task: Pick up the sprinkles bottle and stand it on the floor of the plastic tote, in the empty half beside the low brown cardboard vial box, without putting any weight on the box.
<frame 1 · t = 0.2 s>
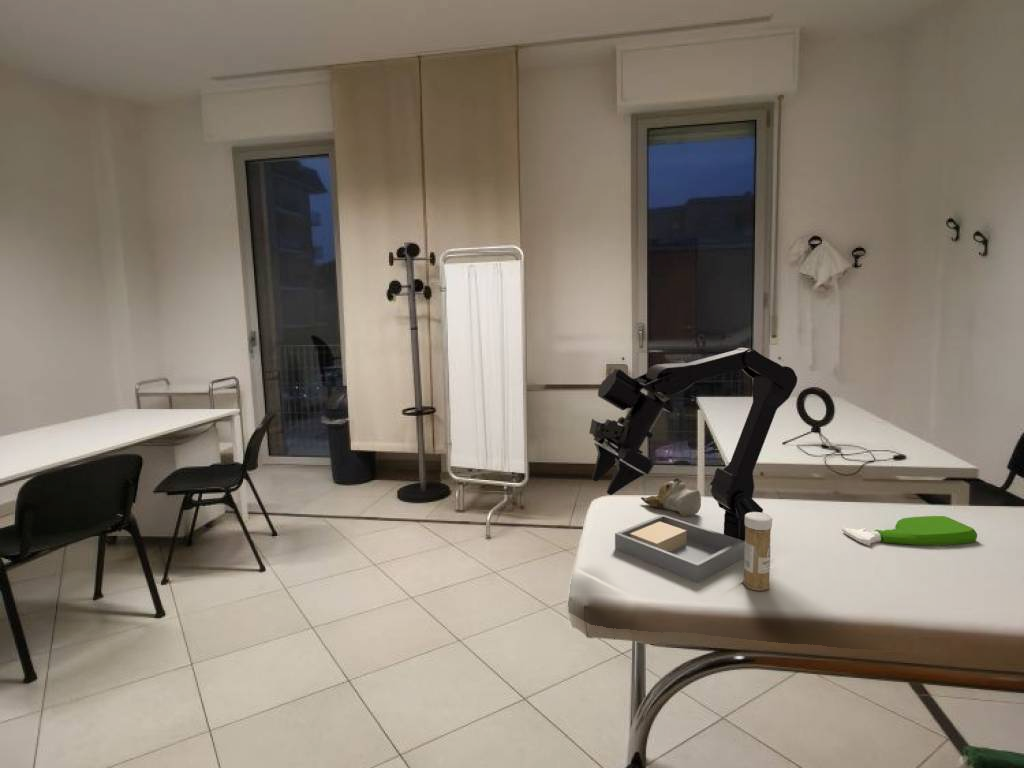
hand: (601, 487, 119), 15 cm above the table, fingers open, 9 cm apart
spray bottle: (906, 539, 126), on the table
ceramic sculpture: (675, 511, 145), on the table
sprinkles bottle: (756, 586, 106), on the table
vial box: (658, 545, 123), point 1 cm above the table, touching tote
tote: (678, 555, 120), on the table
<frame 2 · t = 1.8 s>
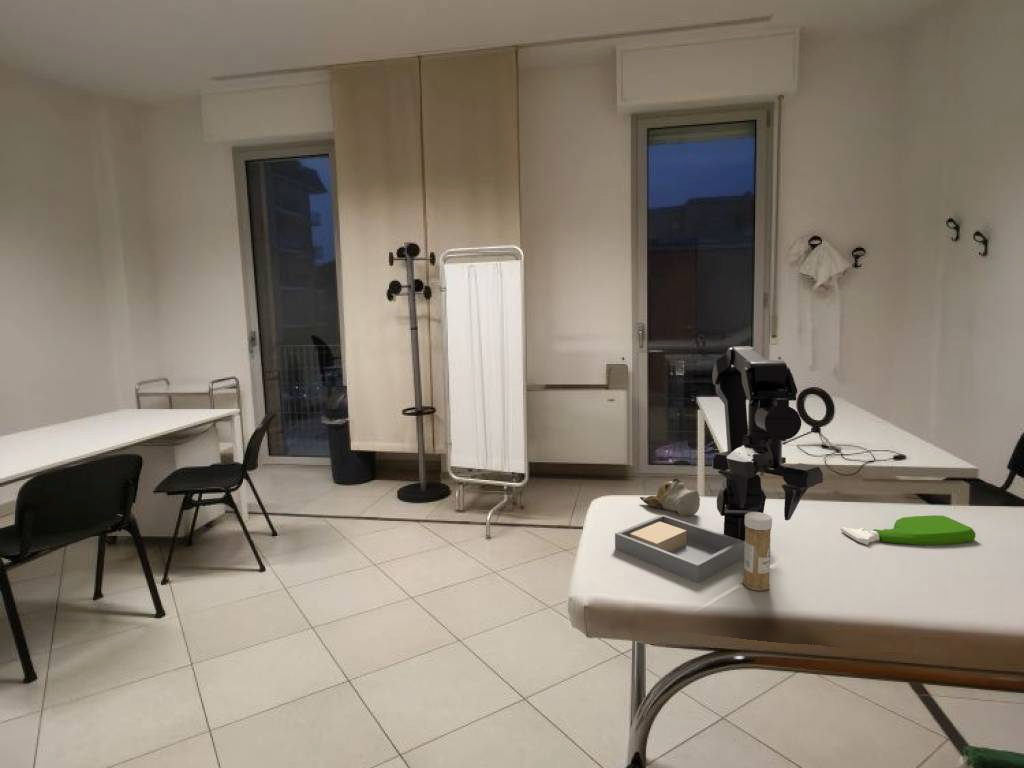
hand: (763, 513, 107), 13 cm above the table, fingers open, 9 cm apart
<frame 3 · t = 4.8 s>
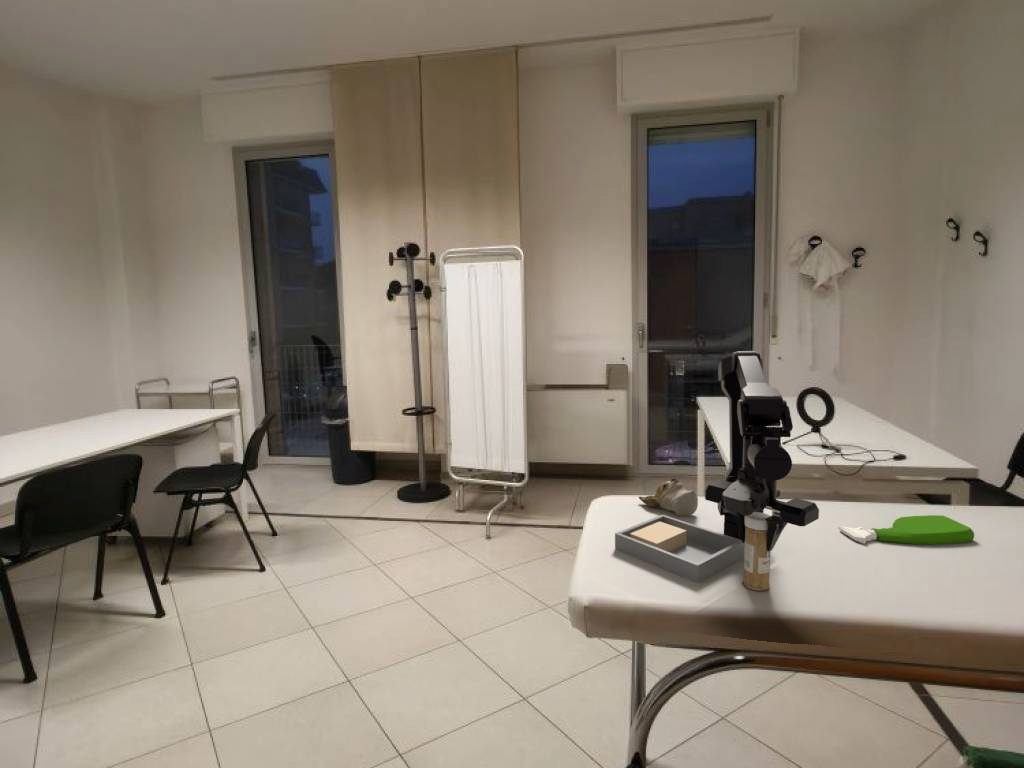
hand: (757, 546, 105), 8 cm above the table, fingers closed on sprinkles bottle, 4 cm apart
sprinkles bottle: (756, 586, 106), on the table, touching gripper
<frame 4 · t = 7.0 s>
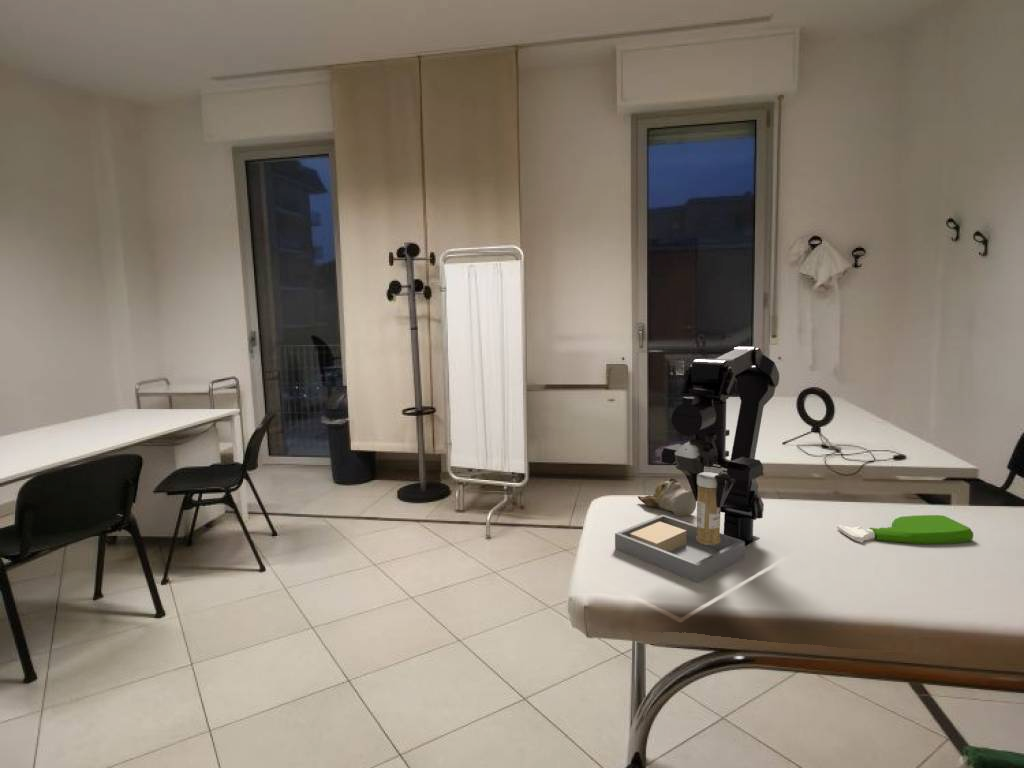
hand: (708, 504, 113), 13 cm above the table, fingers closed on sprinkles bottle, 4 cm apart
sprinkles bottle: (707, 542, 114), point 5 cm above the table, touching gripper
when the fingers open (9 cm above the table, at t = 9.2 s): sprinkles bottle drops 1 cm, resting on tote.
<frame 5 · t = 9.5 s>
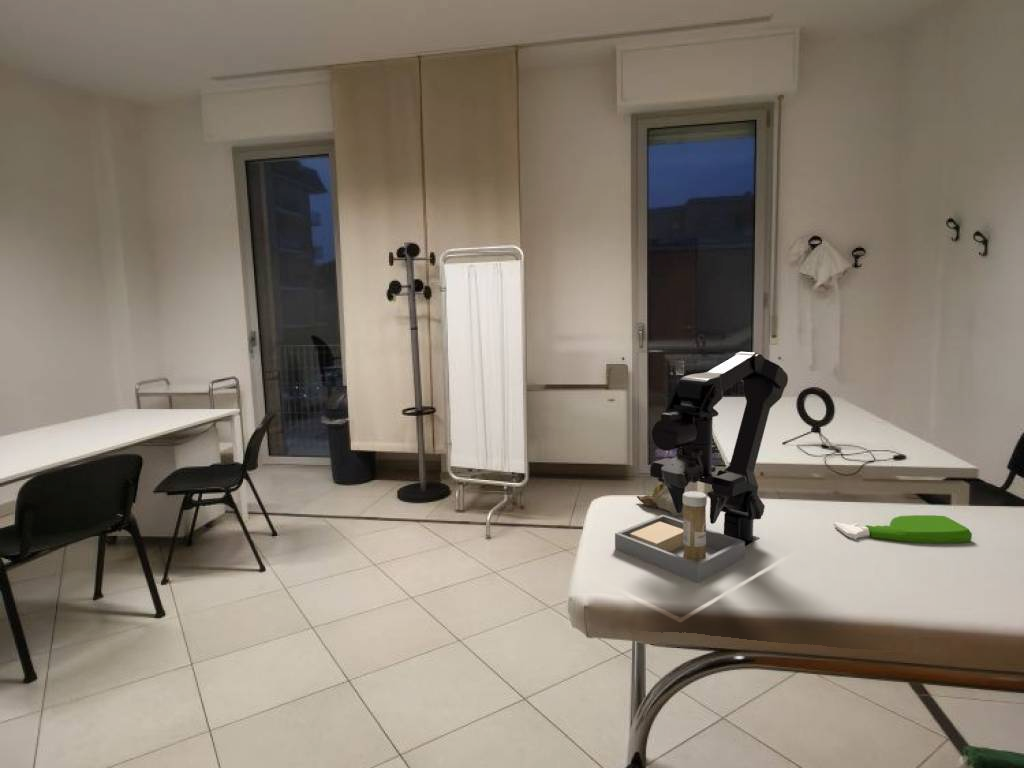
hand: (695, 517, 115), 9 cm above the table, fingers open, 7 cm apart
sprinkles bottle: (694, 559, 117), resting on tote
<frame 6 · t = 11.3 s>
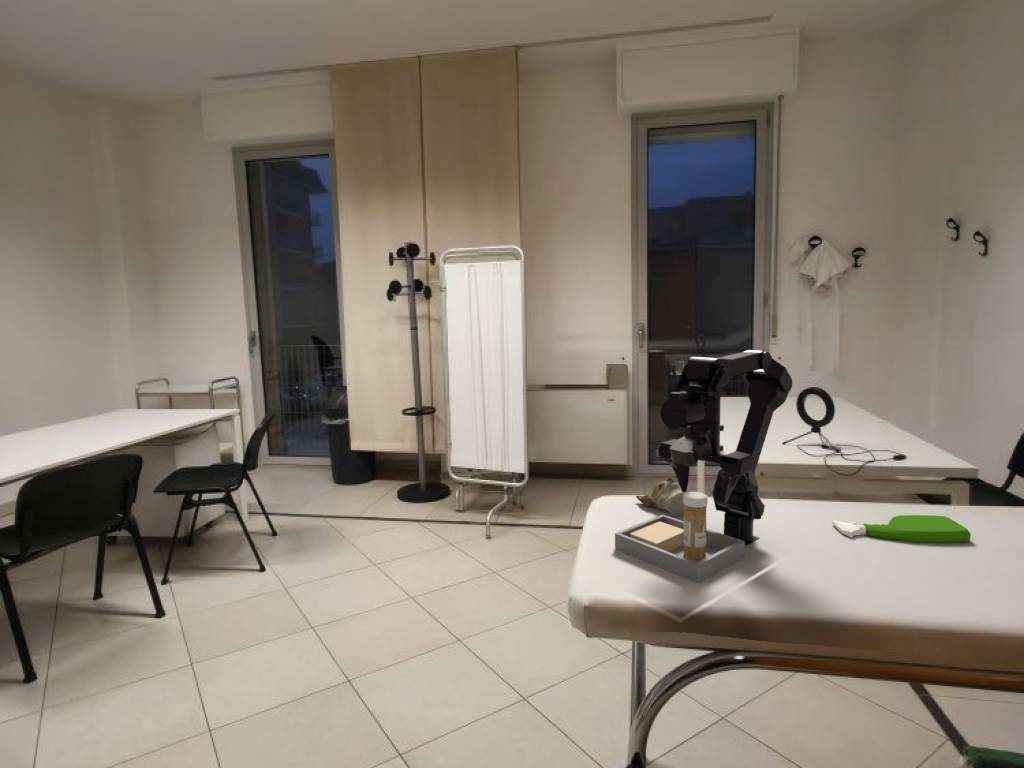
hand: (703, 497, 116), 13 cm above the table, fingers open, 9 cm apart
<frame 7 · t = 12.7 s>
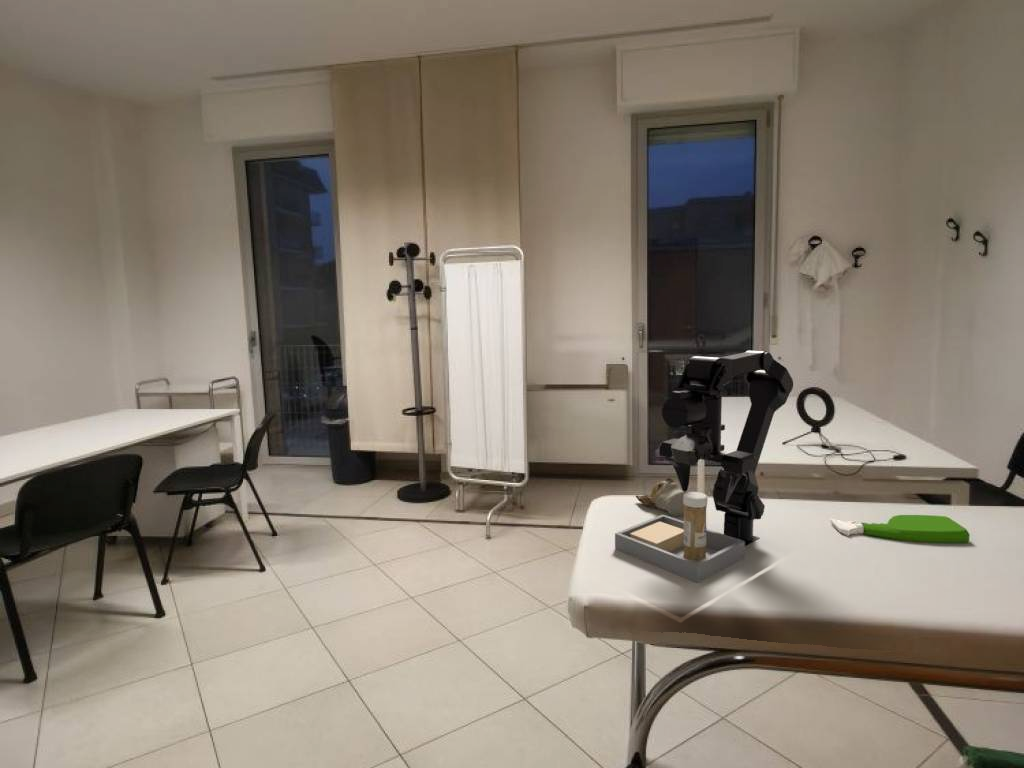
hand: (704, 496, 117), 13 cm above the table, fingers open, 9 cm apart
at the end: sprinkles bottle inside the target area (1.4 cm from its centre), resting on tote; sprinkles bottle tilted 0°; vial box moved 0.0 cm from its start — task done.
